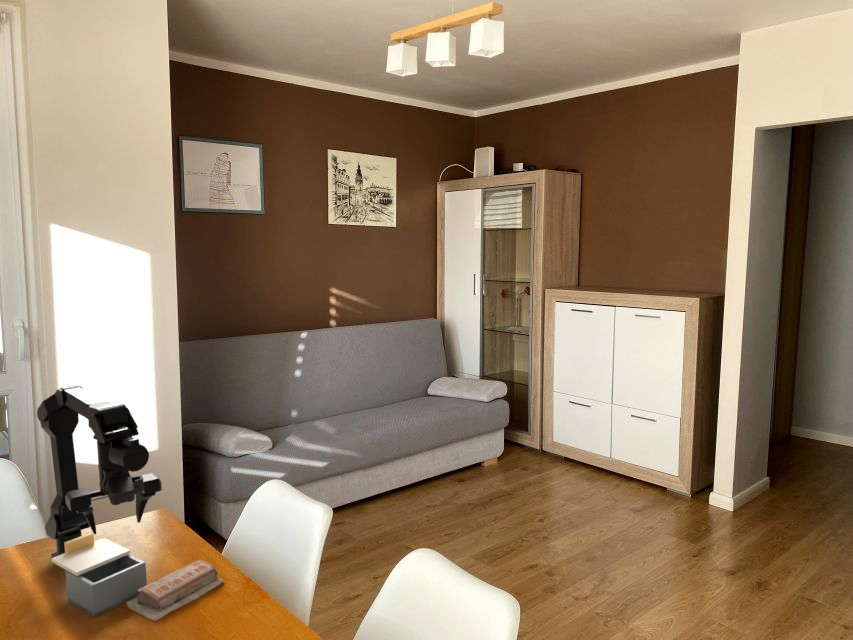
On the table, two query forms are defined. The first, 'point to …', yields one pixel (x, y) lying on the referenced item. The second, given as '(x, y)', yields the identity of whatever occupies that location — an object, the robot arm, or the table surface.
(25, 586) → the table surface
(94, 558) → the lid
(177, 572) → the packaged product
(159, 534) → the table surface
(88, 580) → the storage box
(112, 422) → the robot arm
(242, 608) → the table surface
